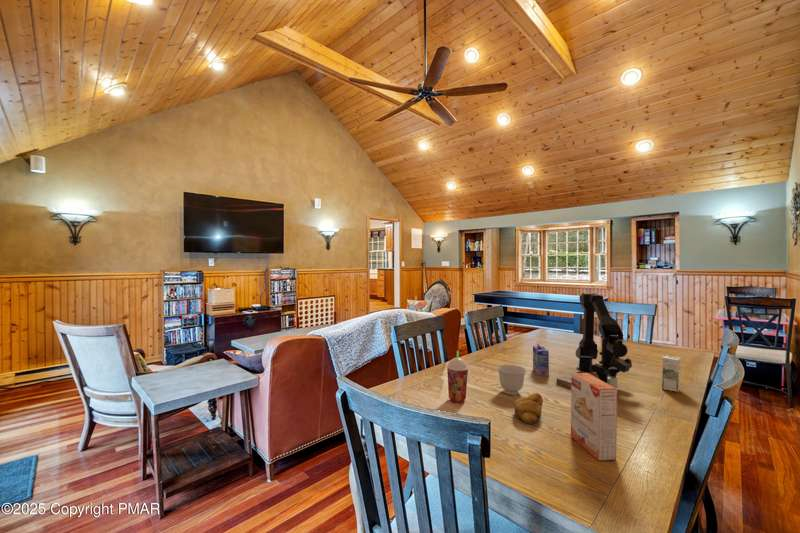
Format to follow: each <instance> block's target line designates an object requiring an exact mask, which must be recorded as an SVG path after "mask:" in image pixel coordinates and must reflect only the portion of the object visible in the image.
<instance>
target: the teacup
mask: <svg viewBox="0 0 800 533" xmlns="http://www.w3.org/2000/svg"><path fill="white" fill-rule="evenodd" d="M496 369H497V371H498V376H499V383H500V387H501V388H502V389H503V390H504V391H503V392H504V393H505V394H507V395H511V396H513V395H515V396H516V395H518V394H519V391H521V390H522V389H523V386H524V381H525V380H524V379H525V375H526V373H527V369H526V368H524V367H522V366H520V365H515V364H504V365H503V364H502V365H499V366H497V368H496Z"/></svg>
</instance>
